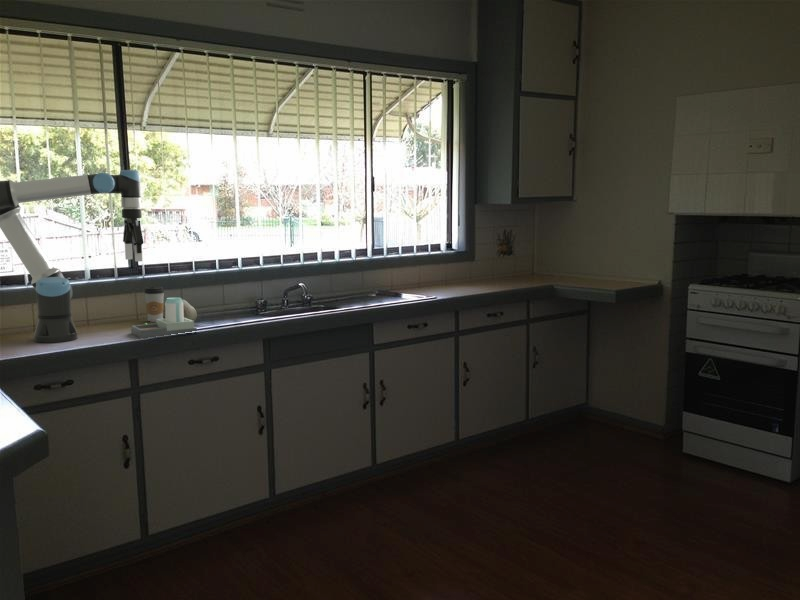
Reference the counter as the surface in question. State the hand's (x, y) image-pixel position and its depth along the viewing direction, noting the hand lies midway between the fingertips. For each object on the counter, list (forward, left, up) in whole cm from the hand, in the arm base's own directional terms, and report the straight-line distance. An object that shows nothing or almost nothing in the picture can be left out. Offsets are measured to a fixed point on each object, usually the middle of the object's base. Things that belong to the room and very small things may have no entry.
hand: (133, 260), depth 291 cm
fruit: (+20, -2, -29) cm, 35 cm away
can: (+10, -17, -27) cm, 33 cm away
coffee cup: (+13, +17, -29) cm, 36 cm away
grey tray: (+6, -17, -29) cm, 34 cm away
